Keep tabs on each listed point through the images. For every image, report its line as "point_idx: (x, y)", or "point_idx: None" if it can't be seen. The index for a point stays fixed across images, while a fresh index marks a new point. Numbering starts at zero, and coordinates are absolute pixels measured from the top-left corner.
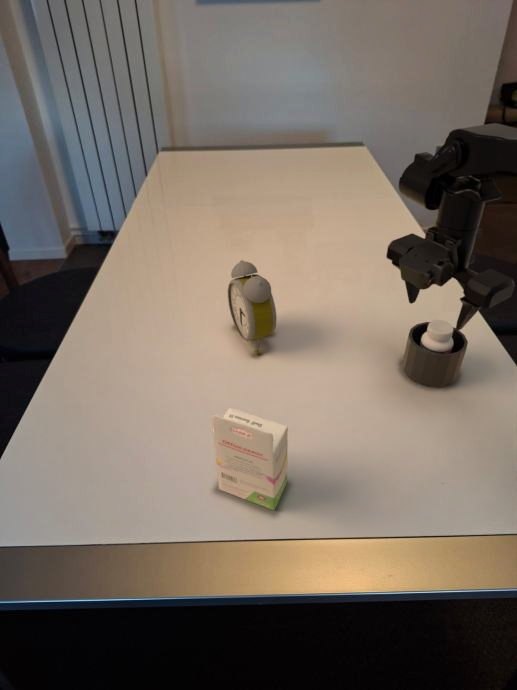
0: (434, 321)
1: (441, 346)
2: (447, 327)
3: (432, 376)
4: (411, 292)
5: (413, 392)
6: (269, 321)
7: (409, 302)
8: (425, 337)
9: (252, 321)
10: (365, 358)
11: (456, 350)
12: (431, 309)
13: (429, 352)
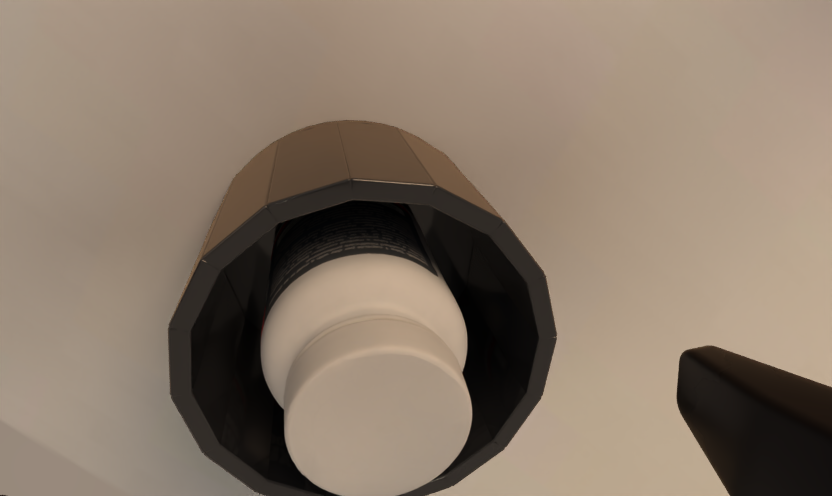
0: (458, 426)
1: (282, 332)
2: (353, 463)
3: (231, 191)
4: (821, 439)
5: (240, 65)
6: None
7: (706, 346)
8: (409, 296)
9: None
10: (588, 9)
11: None
12: (658, 491)
13: (261, 220)
